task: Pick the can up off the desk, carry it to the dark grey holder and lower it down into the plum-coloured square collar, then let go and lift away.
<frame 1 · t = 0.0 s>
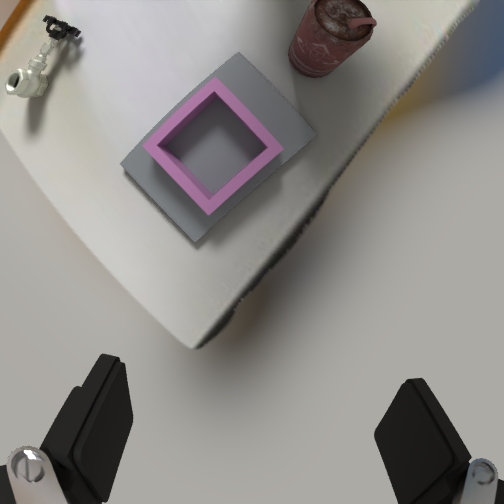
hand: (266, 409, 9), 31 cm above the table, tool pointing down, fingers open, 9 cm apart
can: (312, 57, 32), on the table
cup holder: (216, 145, 36), on the table
valve: (53, 63, 30), on the table
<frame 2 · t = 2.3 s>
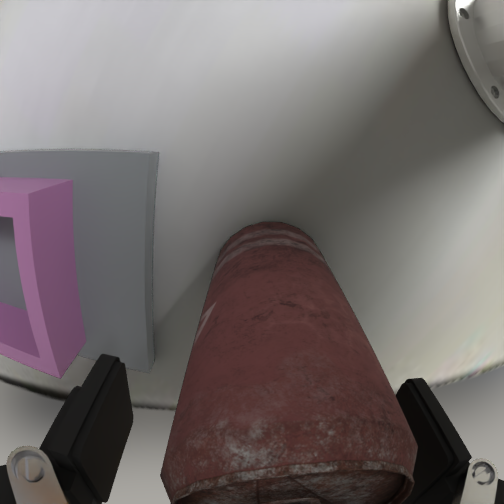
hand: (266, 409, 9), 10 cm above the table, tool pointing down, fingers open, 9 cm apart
can: (271, 270, 18), on the table
cup holder: (28, 249, 17), on the table
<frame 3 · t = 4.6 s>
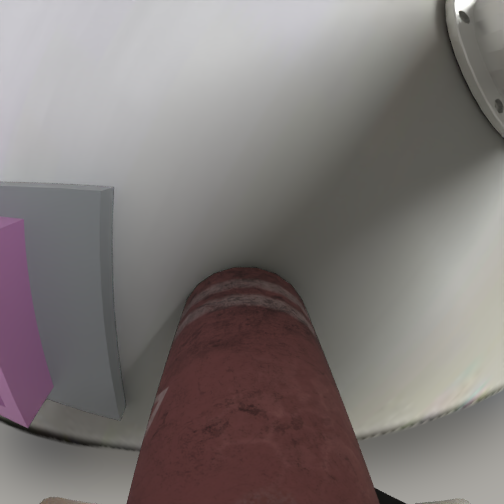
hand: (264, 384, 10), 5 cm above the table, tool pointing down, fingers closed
can: (246, 318, 16), on the table, touching gripper
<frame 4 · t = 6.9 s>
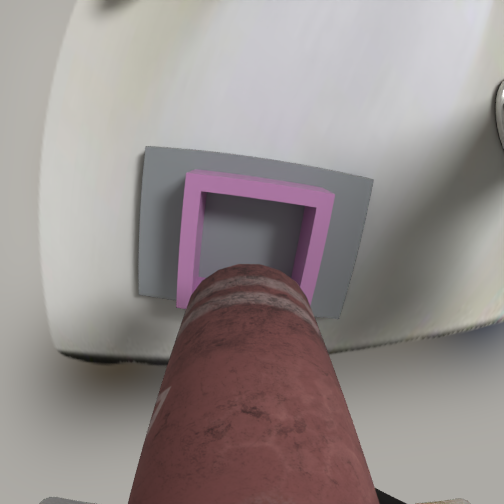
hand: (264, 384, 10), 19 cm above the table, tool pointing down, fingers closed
can: (250, 315, 15), point 14 cm above the table, touching gripper
cup holder: (250, 234, 28), on the table
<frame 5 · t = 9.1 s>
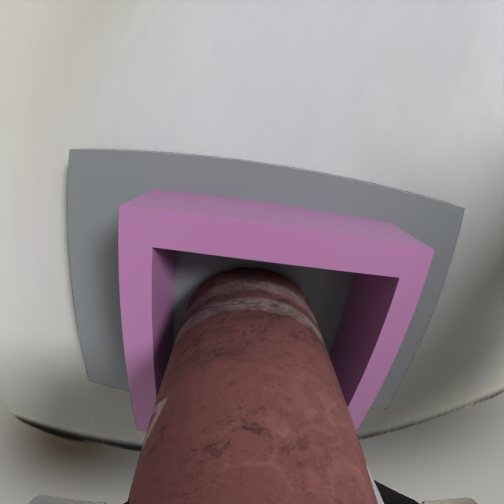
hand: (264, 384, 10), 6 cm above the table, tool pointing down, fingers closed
can: (250, 319, 15), point 1 cm above the table, touching cup holder
cup holder: (258, 299, 16), on the table
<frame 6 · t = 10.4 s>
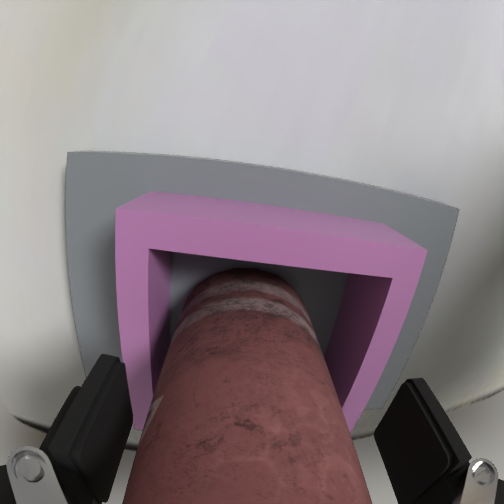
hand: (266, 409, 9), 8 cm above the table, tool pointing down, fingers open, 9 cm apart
can: (246, 319, 15), point 1 cm above the table, touching cup holder
cup holder: (254, 300, 16), on the table
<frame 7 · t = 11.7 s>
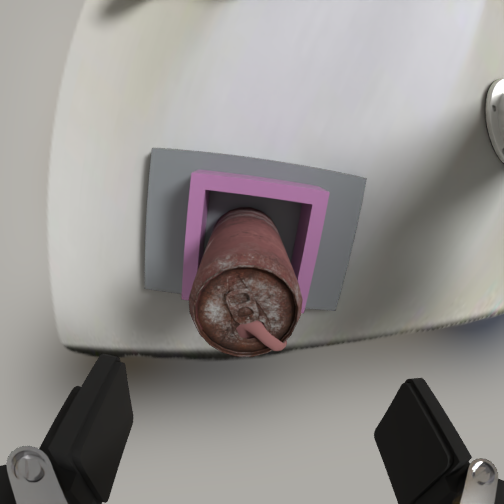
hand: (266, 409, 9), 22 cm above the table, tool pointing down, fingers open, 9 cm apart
can: (246, 238, 29), point 1 cm above the table, touching cup holder
cup holder: (250, 230, 30), on the table
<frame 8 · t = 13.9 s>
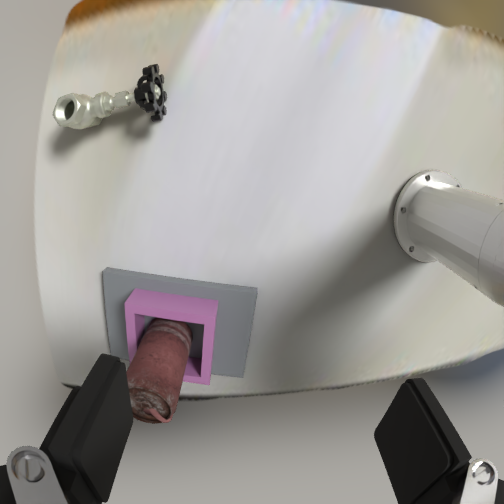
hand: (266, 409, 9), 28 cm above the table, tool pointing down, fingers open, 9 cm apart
can: (172, 331, 39), point 1 cm above the table, touching cup holder
cup holder: (176, 324, 40), on the table
valve: (120, 106, 31), on the table
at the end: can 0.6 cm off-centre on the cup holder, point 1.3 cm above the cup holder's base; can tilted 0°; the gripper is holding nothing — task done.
